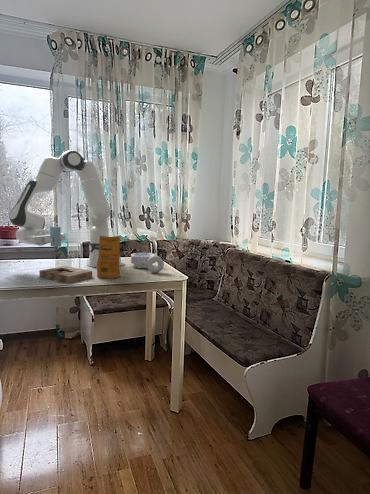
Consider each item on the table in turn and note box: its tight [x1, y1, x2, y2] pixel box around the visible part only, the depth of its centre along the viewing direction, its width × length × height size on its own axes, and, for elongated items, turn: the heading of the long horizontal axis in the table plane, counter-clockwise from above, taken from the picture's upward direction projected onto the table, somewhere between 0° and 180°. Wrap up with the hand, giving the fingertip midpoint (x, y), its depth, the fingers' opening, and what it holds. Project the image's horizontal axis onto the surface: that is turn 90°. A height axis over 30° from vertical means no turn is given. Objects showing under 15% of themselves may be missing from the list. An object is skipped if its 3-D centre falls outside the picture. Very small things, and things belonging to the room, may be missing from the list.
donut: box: [146, 255, 165, 274], centre depth 193 cm, size 10×4×10 cm, turn 96°
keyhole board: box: [38, 265, 93, 284], centre depth 175 cm, size 21×16×4 cm
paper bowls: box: [130, 252, 157, 269], centre depth 208 cm, size 15×15×8 cm
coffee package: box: [96, 235, 121, 279], centre depth 179 cm, size 10×12×22 cm
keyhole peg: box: [49, 226, 62, 256], centre depth 174 cm, size 5×5×14 cm
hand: (57, 239), depth 173 cm, fingers closed on keyhole peg, 4 cm apart
